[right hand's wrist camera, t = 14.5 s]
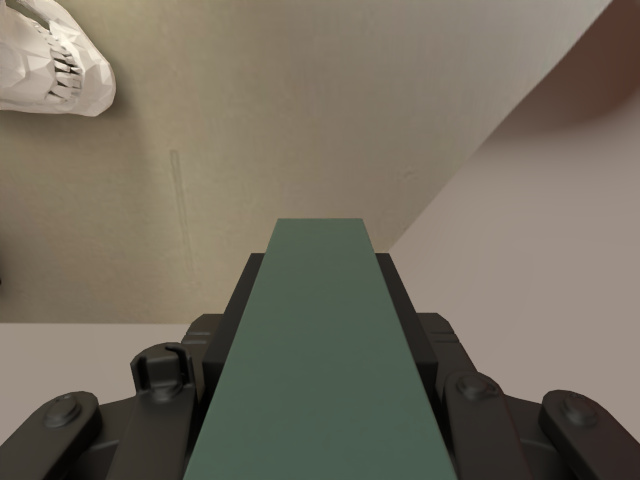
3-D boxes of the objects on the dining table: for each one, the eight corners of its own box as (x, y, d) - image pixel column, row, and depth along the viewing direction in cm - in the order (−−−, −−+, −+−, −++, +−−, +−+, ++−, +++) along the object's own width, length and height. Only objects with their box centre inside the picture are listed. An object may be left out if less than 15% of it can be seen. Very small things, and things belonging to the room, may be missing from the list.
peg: (280, 293, 19) (186, 747, 5) (277, 218, 17) (140, 585, 4) (359, 293, 19) (453, 747, 5) (362, 218, 17) (499, 585, 4)
